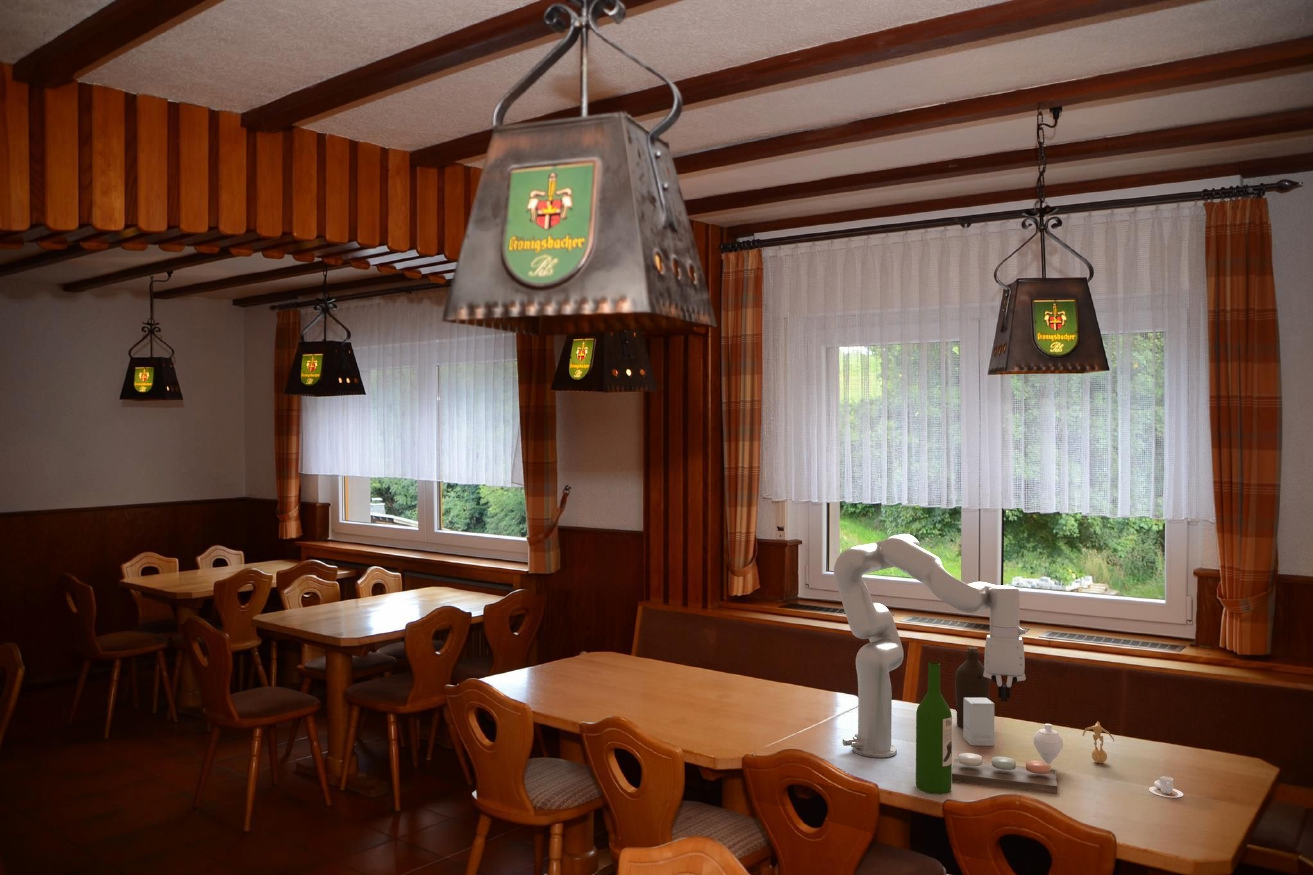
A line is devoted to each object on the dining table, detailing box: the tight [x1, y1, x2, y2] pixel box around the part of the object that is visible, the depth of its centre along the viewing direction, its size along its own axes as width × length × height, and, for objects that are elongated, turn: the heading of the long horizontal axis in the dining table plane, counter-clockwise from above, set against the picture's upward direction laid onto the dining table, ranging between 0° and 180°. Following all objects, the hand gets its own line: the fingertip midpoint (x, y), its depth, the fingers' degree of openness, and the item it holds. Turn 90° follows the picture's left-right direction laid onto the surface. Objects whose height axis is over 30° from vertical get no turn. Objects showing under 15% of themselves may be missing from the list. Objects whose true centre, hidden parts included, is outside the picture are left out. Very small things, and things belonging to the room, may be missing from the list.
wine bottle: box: [915, 661, 953, 795], centre depth 251 cm, size 9×9×32 cm
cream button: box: [958, 752, 983, 766], centre depth 261 cm, size 6×6×2 cm
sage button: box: [991, 756, 1017, 770], centre depth 258 cm, size 6×6×2 cm
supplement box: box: [962, 698, 995, 747], centre depth 290 cm, size 7×7×13 cm
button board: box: [951, 758, 1058, 795], centre depth 258 cm, size 13×26×2 cm, turn 70°
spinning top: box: [1032, 723, 1064, 765], centre depth 268 cm, size 8×8×12 cm
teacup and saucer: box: [1148, 775, 1184, 799], centre depth 250 cm, size 9×8×4 cm
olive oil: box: [954, 646, 991, 729], centre depth 307 cm, size 11×11×25 cm
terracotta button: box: [1025, 760, 1051, 774], centre depth 255 cm, size 6×6×2 cm
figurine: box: [1082, 721, 1115, 764], centre depth 271 cm, size 8×6×12 cm
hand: (1004, 700), depth 258 cm, fingers closed
